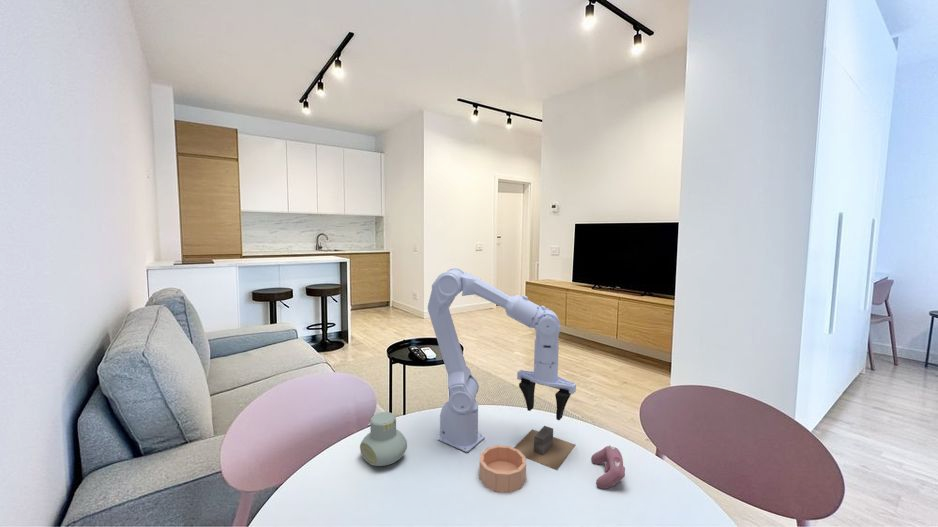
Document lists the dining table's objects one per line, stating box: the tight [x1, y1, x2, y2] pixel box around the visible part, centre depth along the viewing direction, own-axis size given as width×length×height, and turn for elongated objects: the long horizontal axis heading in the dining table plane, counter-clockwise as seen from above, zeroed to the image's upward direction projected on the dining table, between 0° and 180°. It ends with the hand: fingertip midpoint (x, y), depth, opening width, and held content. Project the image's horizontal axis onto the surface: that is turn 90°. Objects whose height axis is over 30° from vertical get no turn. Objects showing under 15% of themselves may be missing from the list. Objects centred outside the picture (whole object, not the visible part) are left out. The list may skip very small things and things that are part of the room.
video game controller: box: [590, 444, 626, 489], centre depth 81 cm, size 10×5×7 cm, turn 169°
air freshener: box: [359, 411, 408, 467], centre depth 86 cm, size 11×8×10 cm
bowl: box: [478, 444, 527, 494], centre depth 81 cm, size 10×10×4 cm
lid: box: [513, 425, 576, 471], centre depth 91 cm, size 12×12×5 cm
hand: (544, 413), depth 90 cm, fingers open, 7 cm apart
